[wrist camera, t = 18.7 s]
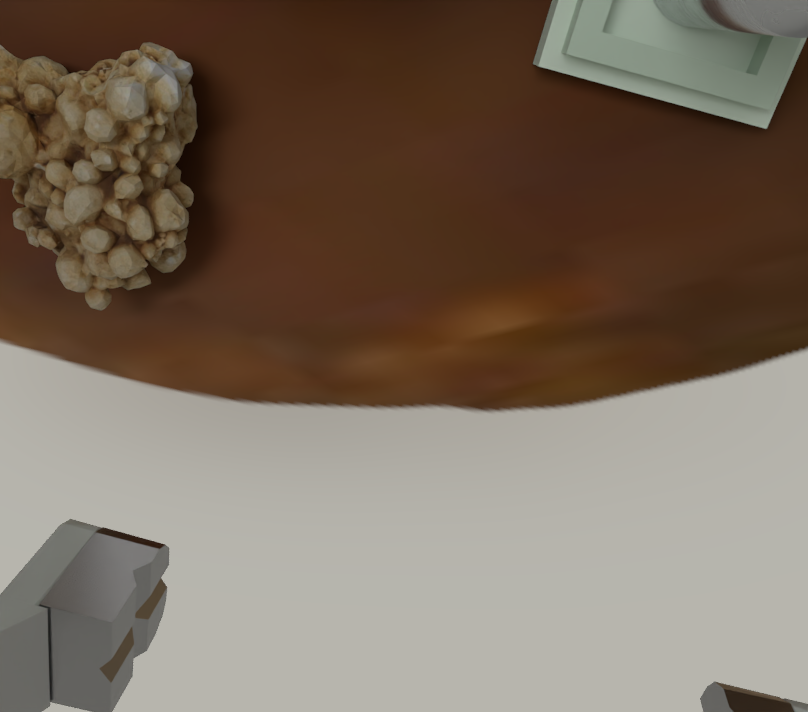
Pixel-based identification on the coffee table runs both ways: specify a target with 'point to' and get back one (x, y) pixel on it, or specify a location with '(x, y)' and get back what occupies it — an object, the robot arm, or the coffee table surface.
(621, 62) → the plate
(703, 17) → the brushed metal cylinder
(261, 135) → the coffee table surface
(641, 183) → the coffee table surface
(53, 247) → the mineral formation
